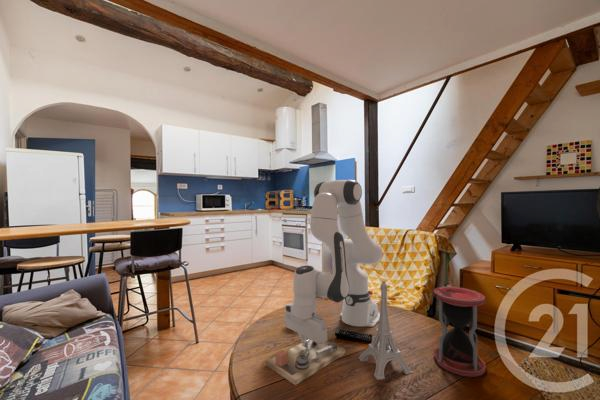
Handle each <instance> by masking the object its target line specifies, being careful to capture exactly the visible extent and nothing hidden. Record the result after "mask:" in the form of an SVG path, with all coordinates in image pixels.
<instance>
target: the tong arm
mask: <svg viewBox="0 0 600 400" xmlns="http://www.w3.org/2000/svg"><path fill="white" fill-rule="evenodd" d="M316 344H317V343H316V342H314V341H312V340H309V342H308V344H307V346H306V348H305V351H304V353H303V355H300V356H297V358H296V363H297V364H298V365H306V364H307V363H308V357H307V354H310V352H311V349H312V347H313V345H316Z"/></svg>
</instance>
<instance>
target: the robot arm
mask: <svg viewBox="0 0 600 400" xmlns="http://www.w3.org/2000/svg"><path fill="white" fill-rule="evenodd" d="M362 194H363V190H362V186H361V184H360V183H359V182H358V181H357V180H354V179H336V180H329V181H322V182H319V183H318V184H316V186H315V188H314V190H313V197H314V199H313V204H312V207H311V212H310V220H309V221H310V222H309V227H310V228H309V230H310V232H311V235H312V236H313V237H314V238H315V239H316V240H318V241H319V242H321V243H322V244H324V245H325V246H327V247H328V249H329V250H330V253H331V263H332V273H330V272H327V271H326V272H325V271H321V270H318V269H316V268H315V267H314V266H312V265H308V264H307V265H301V266H298V267H297V268H296V269H295V270H294V273H293V280H292V292H293V301H292V302H290V303H288V304H285V305H284V311H285V312H284V324H285V328H287V329H289V330H292V332H293V331H294V332H295V333H296V334H299V338H300V340H301V343H302V346H303V347H306V346H307V344H308V341H309V339H310V340H312V341H314V342H316V343H318V344H322V343H324V342H326V341H328V330H327V323H326V321H325V319H324V317H323V316H321V315H318V314H317V298H316V297H321V298H322V299H327V300H329V301H332V302H333V303H337V304H338V303H340V302H342V307H341V308H342V309H341V312H340V317H341V321H342V323H344V324H346V325H349V326H351V327H371V328H373V327H375V326H376V325H377V323H379V316H380V311H379V306H378V304H377V303H376V302H375V301H374V300H373V299H372V298H371V296H373V294H374V291H373V290H370V289H369V277H368V274H367V273H366V271H364V270H363V269H362V268H361V267H360V265H367V266H368V265H377V264H379V263H380V262H381V260H382V258H383V255H384V254H383V253H384V252H383V249H382V247H381V245H380V244H379V243H378V242H376V241H375V240H374V239H373V238H372V237H371V236H370V234H369V232H368V230H367V229H366V223H365V220H364V215H363V209H362V204H361V201H360V200H361V199H362ZM338 219H339V224H340V229H341V232H342V233H343V234H344V235H346V236H347V237H348V238H344V236H343V235H342V234H341V233H340V230H339V226H338ZM359 264H360V265H359Z"/></svg>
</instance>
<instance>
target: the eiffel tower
mask: <svg viewBox="0 0 600 400" xmlns="http://www.w3.org/2000/svg"><path fill="white" fill-rule="evenodd" d="M379 286H380V288H379V291H380V310H379V312H380V316H379V321H378V326H377V328H376V329H375V330H376V333H375V335H374V338H373V340H372V341H371V343H369V344H368V347H367V348H366V349H365V350H364V351H363V353H362V354H361V355H359V356H358V357H357V358H358V359H359V361H360V362H362V363H363V362H368V361H369V357H371V356H373V357H374V360H375V371H374V374H373V376H374V377H375V379H376V380H377V381H379V380H384V379H386V377H385V368H386V366H387V363H388V362H390V361H396V362H398V365H400V370H401V371H402V372H403V373H404V374H405V375H409V374H413V373H414V371H412V370H411V368H410V367H409V366H408V364H407V363H406V361H405V359H404V358H403V356H402V355H401V353H402V351H400V350H399V349H398V348H397V346H396V344H395V341H394V339H393V338H394V337H393V336H392V334H393V331H391V326H390V320H389V311H388V309H389V308H388V298H387V297H388V296H387V295H388V291H389V289H388V285H387V284H386V280H384V279H383V280H382V281H381V284H380V285H379Z"/></svg>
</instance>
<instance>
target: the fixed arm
mask: <svg viewBox="0 0 600 400" xmlns="http://www.w3.org/2000/svg"><path fill="white" fill-rule="evenodd" d="M337 346H338V344H337V343H336V342H333V341H332V342H330V343H329V344H328V346H327V347H325V348H322V349H320V350H318V351H316V355H315V356H313V357H311V358H309V359H308V363H307V364H306V365H298V364H297V363H296V362H295V367H296V368H297V369H299V370H305V369H307V368H309V363H311V362H313V361H315V360H317V359H320V358H322V357H324V356H326V355H329V354H331V353H333V352H335V351H337Z"/></svg>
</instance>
